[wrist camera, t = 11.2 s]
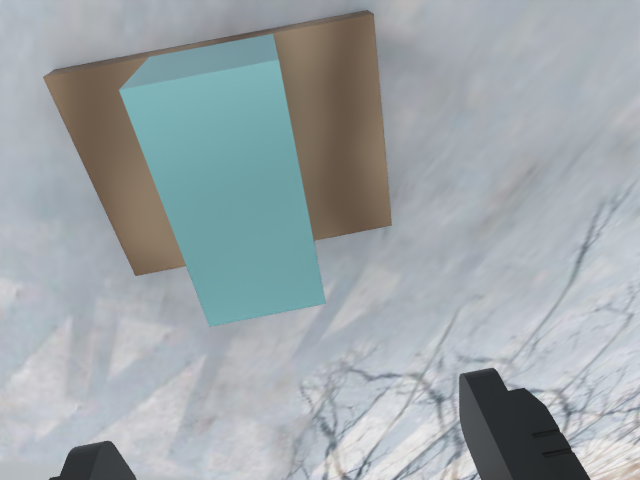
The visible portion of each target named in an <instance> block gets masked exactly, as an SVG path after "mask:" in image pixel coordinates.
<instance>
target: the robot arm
mask: <svg viewBox="0 0 640 480" xmlns="http://www.w3.org/2000/svg"><path fill="white" fill-rule="evenodd" d="M459 414H460V422H461V427H462V431H463V435H464V438H465V441H466V443H467V446H468V448H469V451H470V453H471V456H472V458H473V461H474V463H475V466H476V468H477V471H478V473H479V476H480V478H481V480H590V478H589V476H588V475H587V473H586V471H585V470H584V468H583V466H582V465H581V463H580V462H579V460H578V458H577V457H576V455H575V453H574V452H572V450H571V447H570V445H569V443H568V442H567V440H566V438H565V437H564V435H563V434H562V433H561V432H560V430H559V427H558V425H557V424H556V422H555V420H554V419H553V417H552V415H551V414H550V412H549V411H548V409H547V407H546V406H545V405H544V404H543V403H542V402H541V401H539V400H538V399H537V398H536V397H535V396H533V395H532V394H531V393H530V392H529V391H527V390H526V389H525V388H521V389H516V390H511V391H508V390H507V388H506V386H505V385H504V383H503V381H502V379H501V377H500V375H499V374H498V372H497V371H496V370H495V369H494V368H489V369H483V370H478V371H473V372H468V373H463V374H460V377H459ZM49 480H136V477H135V475H134V474H133V472H132V471H131V469H130V468H129V466H128V465H127V463H126V462H125V460H124V459H123V457H122V456H121V454H120V453H119V451H118V450H117V448H116V447H115V445H114V444H113V443H112V442H111V441H104V442H99V443H94V444H88V445H83V446H78V447H75V448H73V449H72V450H71V451H70V452H69V454H68V456H67V458H66V461H65V463H64V466H63V469H62V471H61V474H60V476H58V477H53V478H50V479H49Z"/></svg>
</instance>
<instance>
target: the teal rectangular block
mask: <svg viewBox="0 0 640 480" xmlns="http://www.w3.org/2000/svg"><path fill="white" fill-rule="evenodd" d="M119 92H120V94H121V97H122V99H123V102H124V105H125V107H126V110H127V112H128V115H129V118H130V120H131V123H132V125H133V128H134V131H135V133H136V136H137V139H138V141H139V144H140V146H141V149H142V152H143V154H144V157H145V159H146V162H147V165H148V167H149V170H150V173H151V175H152V178H153V180H154V183H155V186H156V188H157V191H158V193H159V196H160V199H161V201H162V204H163V206H164V209H165V212H166V214H167V217H168V220H169V222H170V225H171V227H172V230H173V233H174V235H175V238H176V240H177V243H178V246H179V248H180V251H181V253H182V256H183V259H184V261H185V264H186V267H187V269H188V272H189V274H190V277H191V280H192V282H193V285H194V287H195V290H196V293H197V295H198V298H199V301H200V303H201V306H202V308H203V311H204V314H205V316H206V319H207V321H208V324H209V327H210V326H215V325H220V324H225V323H230V322H235V321H240V320H246V319H251V318H256V317H261V316H266V315H271V314H276V313H281V312H286V311H291V310H296V309H301V308H306V307H311V306H316V305H321V304H326V302H325V297H324V292H323V287H322V281H321V276H320V271H319V266H318V261H317V256H316V250H315V245H314V240H313V235H312V230H311V225H310V219H309V214H308V209H307V204H306V199H305V194H304V188H303V183H302V178H301V173H300V168H299V163H298V157H297V152H296V147H295V142H294V137H293V132H292V126H291V121H290V116H289V111H288V106H287V100H286V95H285V90H284V85H283V80H282V75H281V69H280V64H279V59H278V54H277V50H276V45H275V41H274V36H273V34H268V35H263V36H258V37H252V38H247V39H242V40H237V41H231V42H226V43H221V44H215V45H210V46H205V47H199V48H194V49H189V50H183V51H178V52H173V53H167V54H162V55H157V56H151V57H149V58H148V59H147V60H146V61H145V62H144V63H143V64H142V65H141V66H140V67H139V68H138V70H137V71H136V72H135V73H134V74H133V75H132V76H131V77H130V78H129V79H128V81H127V82H126V83H125V84H124V85H123V86H122V87H121V88H120V89H119Z"/></svg>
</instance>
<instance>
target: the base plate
mask: <svg viewBox="0 0 640 480" xmlns="http://www.w3.org/2000/svg"><path fill="white" fill-rule="evenodd" d="M268 34H273V36H274V41H275V45H276V50H277V54H278V59H279V64H280V69H281V75H282V80H283V85H284V90H285V95H286V100H287V106H288V111H289V116H290V121H291V126H292V132H293V137H294V142H295V147H296V152H297V157H298V163H299V168H300V173H301V178H302V183H303V188H304V194H305V199H306V204H307V209H308V214H309V219H310V225H311V230H312V235H313V240H314V241H315V240H320V239H325V238H330V237H335V236H340V235H345V234H350V233H355V232H360V231H366V230H371V229H376V228H381V227H386V226H391V225H392V222H391V211H390V199H389V187H388V176H387V164H386V153H385V141H384V130H383V118H382V106H381V95H380V83H379V72H378V60H377V49H376V37H375V25H374V14H372V13H371V12H369V11H361V12H356V13H351V14H346V15H340V16H335V17H330V18H325V19H319V20H314V21H309V22H304V23H298V24H293V25H288V26H283V27H277V28H272V29H267V30H262V31H256V32H251V33H246V34H241V35H235V36H230V37H225V38H220V39H214V40H209V41H204V42H199V43H193V44H188V45H183V46H178V47H172V48H167V49H162V50H157V51H151V52H146V53H141V54H136V55H130V56H125V57H120V58H115V59H109V60H104V61H99V62H94V63H88V64H83V65H78V66H73V67H67V68H62V69H57V70H53V71H52V72H50V73H49V74H47V75H46V76H44V77H43V78H44V80H45V82H46V85H47V87H48V89H49V91H50V93H51V95H52V97H53V100H54V102H55V104H56V106H57V108H58V110H59V113H60V115H61V117H62V119H63V121H64V123H65V125H66V128H67V130H68V132H69V134H70V136H71V138H72V140H73V143H74V145H75V147H76V149H77V151H78V153H79V155H80V158H81V160H82V162H83V164H84V166H85V168H86V171H87V173H88V175H89V177H90V179H91V181H92V183H93V186H94V188H95V190H96V192H97V194H98V196H99V198H100V201H101V203H102V205H103V207H104V209H105V211H106V213H107V216H108V218H109V220H110V222H111V224H112V226H113V229H114V231H115V233H116V235H117V237H118V239H119V241H120V244H121V246H122V248H123V250H124V252H125V254H126V256H127V259H128V261H129V263H130V265H131V267H132V269H133V271H134V274H135V276H138V275H143V274H148V273H153V272H158V271H163V270H169V269H174V268H179V267H184V266H186V264H185V261H184V259H183V256H182V253H181V251H180V248H179V246H178V243H177V240H176V238H175V235H174V233H173V230H172V227H171V225H170V222H169V220H168V217H167V214H166V212H165V209H164V206H163V204H162V201H161V199H160V196H159V193H158V191H157V188H156V186H155V183H154V180H153V178H152V175H151V173H150V170H149V167H148V165H147V162H146V159H145V157H144V154H143V152H142V149H141V146H140V144H139V141H138V139H137V136H136V133H135V131H134V128H133V125H132V123H131V120H130V118H129V115H128V112H127V110H126V107H125V105H124V102H123V99H122V97H121V94H120V92H119V89H120V88H121V87H122V86H123V85H124V84H125V83H126V82H127V81H128V79H129V78H130V77H131V76H132V75H133V74H134V73H135V72H136V71H137V70H138V68H139V67H140V66H141V65H142V64H143V63H144V62H145V61H146V60H147V59H148V58H149V57H151V56H157V55H162V54H167V53H173V52H178V51H183V50H189V49H194V48H199V47H205V46H210V45H215V44H221V43H226V42H231V41H237V40H242V39H247V38H252V37H258V36H263V35H268Z"/></svg>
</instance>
